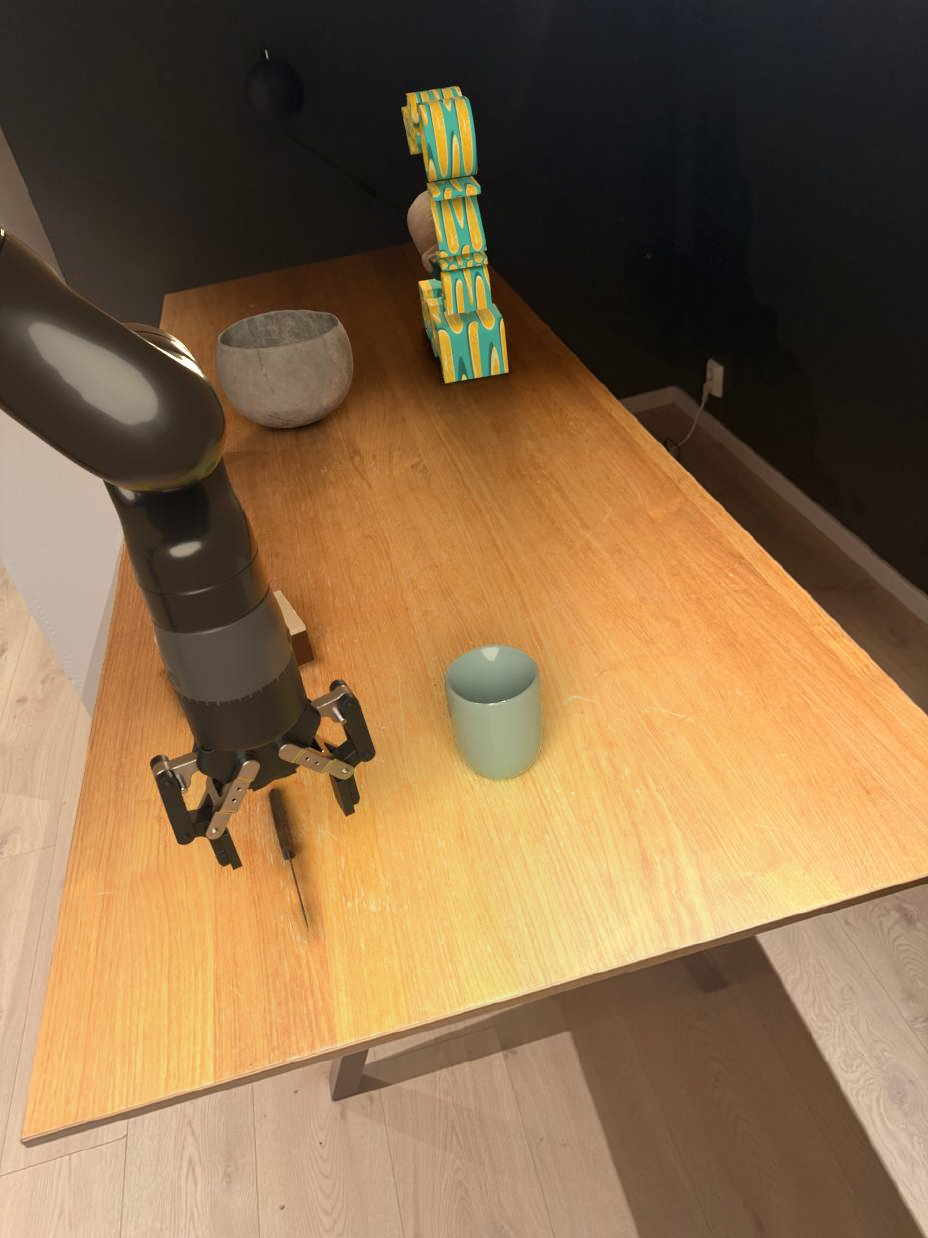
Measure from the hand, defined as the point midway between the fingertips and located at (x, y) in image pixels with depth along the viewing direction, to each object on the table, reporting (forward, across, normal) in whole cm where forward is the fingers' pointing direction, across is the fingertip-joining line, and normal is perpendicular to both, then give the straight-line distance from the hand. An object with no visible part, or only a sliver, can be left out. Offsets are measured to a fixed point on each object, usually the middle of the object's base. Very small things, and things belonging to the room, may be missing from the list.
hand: (291, 833), depth 68 cm
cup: (+9, -20, -6) cm, 23 cm away
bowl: (+9, -31, -90) cm, 95 cm away
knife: (+9, 0, -6) cm, 11 cm away
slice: (+9, -9, -34) cm, 36 cm away
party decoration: (+10, -65, -98) cm, 118 cm away
